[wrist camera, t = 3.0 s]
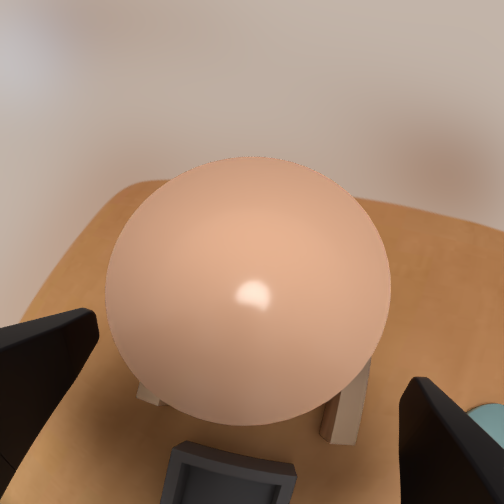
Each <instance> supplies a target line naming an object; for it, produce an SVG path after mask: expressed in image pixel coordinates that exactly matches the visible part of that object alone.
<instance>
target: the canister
mask: <svg viewBox="0 0 504 504" xmlns="http://www.w3.org/2000/svg"><path fill="white" fill-rule="evenodd" d="M390 298H391V278H390V270H389V263H388V259H387V255H386V252H385V248H384V245H383V242H382V240H381V238H380V236H379V233H378V231H377V229H376V227H375V226H374V224H373V222H372V221H371V219H370V217H369V216H368V214H367V213H366V212H365V210H364V209H363V208H362V207H361V206H360V204H359V203H358V202H357V201H356V200H355V199H354V198H353V197H352V196H351V195H350V194H349V193H348V192H347V191H346V190H344V189H343V188H342V187H341V186H339V185H338V184H336V183H335V182H334V181H332V180H331V179H329V178H327V177H326V176H324V175H322V174H321V173H318V172H316V171H314V170H312V169H310V168H307V167H305V166H302V165H299V164H296V163H293V162H289V161H285V160H280V159H275V158H266V157H238V158H229V159H224V160H219V161H214V162H210V163H207V164H204V165H201V166H198V167H195V168H193V169H191V170H189V171H186V172H184V173H182V174H180V175H179V176H177V177H175V178H173V179H172V180H170V181H168V182H167V183H166V184H164V185H163V186H161V187H160V188H159V189H157V190H156V191H155V192H154V193H153V194H152V195H150V196H149V197H148V198H147V199H146V200H145V201H144V202H143V203H142V204H141V205H140V206H139V208H138V209H137V210H136V211H135V212H134V213H133V215H132V216H131V218H130V219H129V221H128V222H127V223H126V225H125V226H124V228H123V230H122V232H121V234H120V236H119V238H118V239H117V242H116V244H115V247H114V249H113V252H112V255H111V258H110V262H109V266H108V270H107V277H106V286H105V304H106V312H107V318H108V323H109V327H110V330H111V333H112V337H113V340H114V342H115V344H116V346H117V348H118V350H119V353H120V355H121V357H122V358H123V360H124V361H125V363H126V364H127V366H128V367H129V369H130V370H131V372H132V373H133V374H134V375H135V376H136V378H137V379H138V380H139V381H140V382H141V383H142V384H143V385H144V386H145V387H146V388H147V389H148V390H149V391H151V392H152V393H153V394H154V395H155V396H157V397H158V398H159V399H160V400H162V401H163V402H165V403H167V404H168V405H170V406H172V407H173V408H175V409H177V410H179V411H181V412H183V413H186V414H188V415H190V416H193V417H195V418H198V419H201V420H205V421H210V422H214V423H218V424H225V425H236V426H252V425H266V424H271V423H275V422H280V421H284V420H288V419H291V418H294V417H296V416H299V415H302V414H304V413H307V412H309V411H311V410H313V409H315V408H316V407H318V406H320V405H322V404H323V403H325V402H327V401H329V400H330V399H331V398H333V397H334V396H335V395H336V394H338V393H339V392H340V391H341V390H343V389H344V388H345V387H346V386H347V385H348V384H349V383H350V382H351V381H352V380H353V379H354V378H355V377H356V376H357V375H358V374H359V373H360V371H361V370H362V369H363V367H364V366H365V364H366V363H367V362H368V360H369V359H370V357H371V356H372V354H373V352H374V350H375V348H376V346H377V344H378V342H379V340H380V338H381V336H382V333H383V330H384V327H385V324H386V320H387V317H388V311H389V305H390Z"/></svg>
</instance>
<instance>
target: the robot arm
mask: <svg viewBox="0 0 504 504" xmlns="http://www.w3.org/2000/svg"><path fill="white" fill-rule="evenodd" d="M98 340H99V329H98V324H97V318H96V314H95V313H94V312H93V311H92V310H89V309H86V308H79V309H75V310H71V311H67V312H63V313H59V314H55V315H51V316H47V317H43V318H39V319H35V320H31V321H27V322H23V323H19V324H15V325H11V326H7V327H3V328H0V499H1V497H2V496H3V494H4V492H5V490H6V488H7V486H8V485H9V483H10V481H11V479H12V478H13V476H14V474H15V472H16V470H17V469H18V467H19V465H20V463H21V462H22V460H23V458H24V457H25V455H26V454H27V452H28V450H29V449H30V447H31V445H32V444H33V442H34V441H35V439H36V437H37V436H38V434H39V433H40V431H41V430H42V428H43V427H44V425H45V424H46V422H47V420H48V419H49V417H50V416H51V414H52V413H53V411H54V410H55V409H56V407H57V406H58V404H59V403H60V401H61V400H62V398H63V397H64V395H65V394H66V393H67V391H68V390H69V388H70V387H71V385H72V384H73V383H74V381H75V380H76V378H77V376H78V375H79V373H80V371H81V370H82V368H83V366H84V364H85V363H86V361H87V359H88V357H89V356H90V354H91V352H92V351H93V349H94V347H95V346H96V344H97V342H98ZM399 465H400V486H401V504H504V449H503V448H502V447H501V446H500V445H499V444H498V443H497V442H496V441H495V440H494V439H493V438H492V437H491V436H490V435H489V434H488V433H487V432H486V431H485V430H484V429H483V428H481V427H480V426H479V425H478V424H477V423H476V422H475V421H474V420H473V419H472V418H471V417H470V416H469V415H468V414H467V413H466V412H464V411H463V410H462V409H461V408H460V407H459V406H458V405H457V404H456V403H455V402H454V401H453V400H452V399H450V398H449V397H448V396H447V395H446V394H445V393H444V392H443V391H442V390H441V389H440V388H438V387H437V386H436V385H435V384H434V383H433V382H432V381H431V380H430V379H429V378H427V377H413V378H412V379H411V381H410V383H409V384H408V386H407V388H406V390H405V391H404V393H403V395H402V397H401V399H400V402H399Z"/></svg>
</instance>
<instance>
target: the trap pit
mask: <svg viewBox="0 0 504 504" xmlns="http://www.w3.org/2000/svg"><path fill="white" fill-rule="evenodd" d="M296 479H297V474H296V471H295V468H294V465H293V464H289V463H282V462H276V461H269V460H264V459H258V458H253V457H248V456H243V455H239V454H234V453H230V452H226V451H222V450H218V449H214V448H211V447H207V446H203V445H200V444H196V443H193V442H190V441H187V440H186V441H184V442H182V443H181V444H179V445H177V446H175V447H173V448H172V451H171V456H170V460H169V465H168V469H167V474H166V478H165V483H164V487H163V492H162V497H161V501H160V504H289V503H290V500H291V496H292V493H293V490H294V486H295V483H296Z"/></svg>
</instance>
